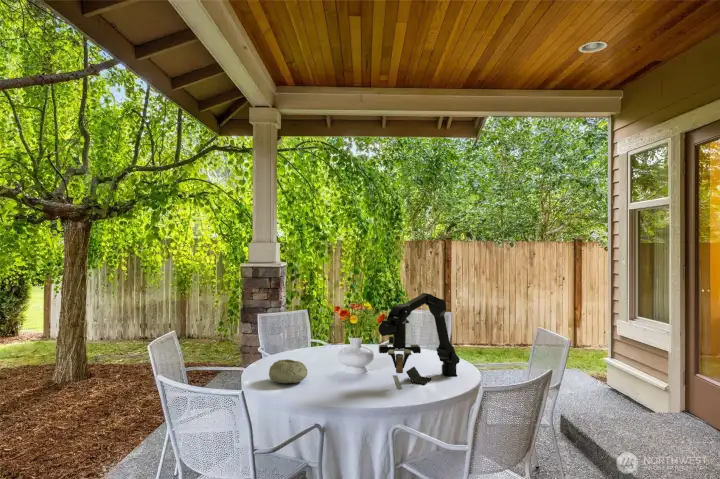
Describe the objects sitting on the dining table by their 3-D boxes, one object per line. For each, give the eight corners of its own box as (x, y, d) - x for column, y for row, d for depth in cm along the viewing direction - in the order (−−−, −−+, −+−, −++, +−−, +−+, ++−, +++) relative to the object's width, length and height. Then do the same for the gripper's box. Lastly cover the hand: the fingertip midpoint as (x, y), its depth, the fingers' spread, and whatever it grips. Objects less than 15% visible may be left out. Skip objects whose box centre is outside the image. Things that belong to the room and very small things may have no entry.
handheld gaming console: (429, 382, 209) (416, 363, 212) (416, 391, 210) (404, 372, 213) (432, 379, 219) (420, 361, 223) (421, 387, 220) (409, 369, 224)
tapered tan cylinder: (402, 371, 208) (402, 353, 208) (403, 373, 204) (403, 355, 204) (395, 371, 208) (395, 353, 208) (396, 373, 204) (396, 355, 204)
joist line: (397, 375, 225) (397, 375, 225) (402, 389, 203) (402, 388, 203) (393, 375, 225) (393, 375, 225) (397, 389, 203) (397, 388, 203)
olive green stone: (302, 375, 224) (302, 355, 225) (311, 385, 208) (311, 363, 208) (265, 379, 218) (266, 358, 218) (272, 389, 201) (272, 366, 202)
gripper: (417, 330, 215) (417, 363, 214) (378, 330, 214) (377, 363, 214) (420, 334, 203) (420, 369, 203) (379, 334, 203) (379, 369, 203)
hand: (399, 367), depth 206 cm, fingers closed on tapered tan cylinder, 3 cm apart
